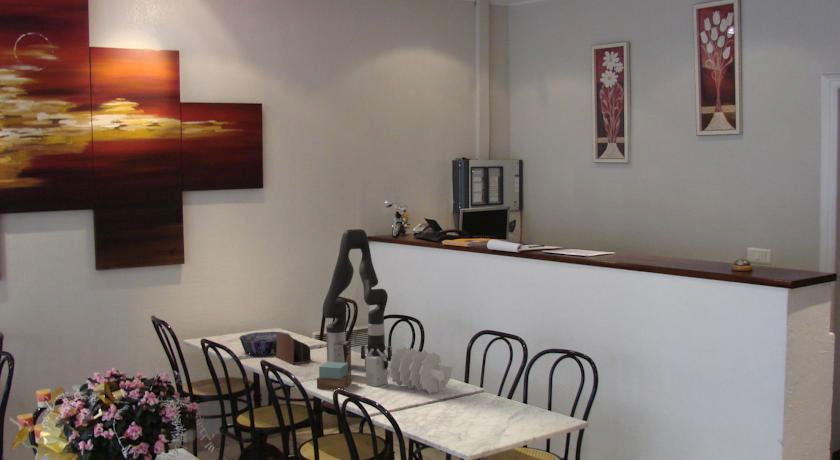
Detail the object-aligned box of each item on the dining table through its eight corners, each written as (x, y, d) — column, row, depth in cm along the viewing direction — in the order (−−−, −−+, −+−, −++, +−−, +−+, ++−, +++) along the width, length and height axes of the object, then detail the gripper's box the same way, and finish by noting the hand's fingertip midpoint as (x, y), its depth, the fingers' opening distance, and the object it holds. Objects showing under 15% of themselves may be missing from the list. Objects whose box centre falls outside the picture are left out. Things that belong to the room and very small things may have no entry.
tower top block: (327, 372, 389) (327, 361, 388) (348, 373, 386) (347, 362, 386) (319, 377, 379) (319, 366, 379) (340, 379, 377) (340, 368, 376)
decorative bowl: (235, 352, 462) (234, 334, 461) (285, 343, 473) (283, 326, 472) (246, 362, 438) (244, 343, 437) (298, 352, 449) (296, 334, 448)
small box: (377, 381, 390) (377, 353, 389) (388, 383, 386) (387, 355, 385) (365, 384, 384) (365, 356, 383) (376, 387, 380) (375, 358, 379)
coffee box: (346, 379, 395) (345, 344, 393) (333, 378, 396) (332, 344, 395) (351, 374, 404) (351, 340, 402) (338, 373, 405) (338, 340, 404)
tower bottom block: (326, 382, 390) (326, 371, 390) (351, 384, 387) (351, 373, 387) (316, 389, 379) (316, 378, 378) (342, 391, 376) (342, 379, 375)
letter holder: (293, 365, 423) (292, 337, 422) (276, 357, 439) (275, 331, 438) (311, 362, 429) (310, 334, 428) (293, 355, 445) (293, 328, 444)
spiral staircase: (433, 405, 365) (391, 392, 382) (458, 380, 376) (415, 368, 393) (422, 371, 358) (379, 359, 374) (447, 347, 369) (405, 336, 385)
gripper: (393, 332, 385) (394, 367, 387) (363, 330, 389) (364, 365, 390) (389, 335, 378) (389, 371, 379) (358, 334, 382) (359, 369, 383)
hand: (376, 368), depth 385 cm, fingers closed on small box, 8 cm apart
